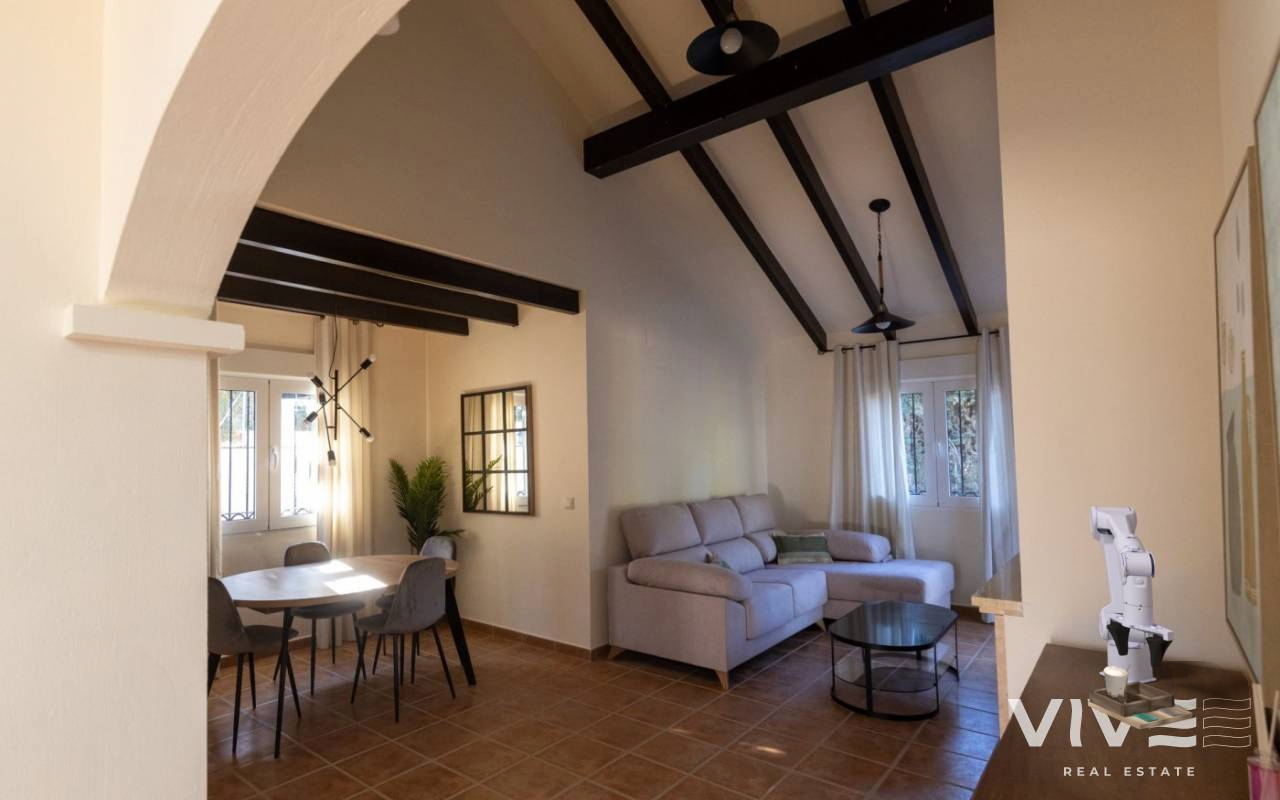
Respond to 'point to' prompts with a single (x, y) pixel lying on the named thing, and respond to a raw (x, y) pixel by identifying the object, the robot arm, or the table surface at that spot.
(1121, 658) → the robot arm
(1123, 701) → the milkshake
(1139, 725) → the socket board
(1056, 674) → the table surface
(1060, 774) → the table surface
